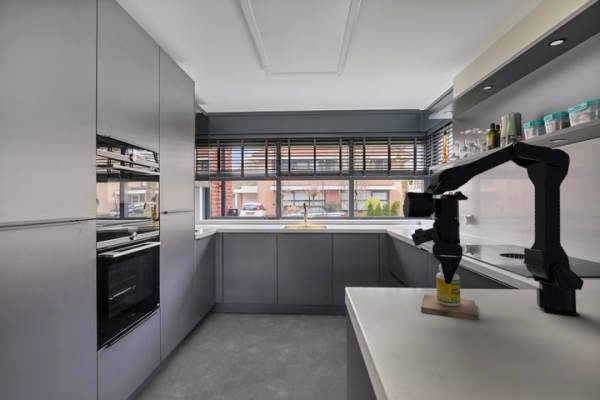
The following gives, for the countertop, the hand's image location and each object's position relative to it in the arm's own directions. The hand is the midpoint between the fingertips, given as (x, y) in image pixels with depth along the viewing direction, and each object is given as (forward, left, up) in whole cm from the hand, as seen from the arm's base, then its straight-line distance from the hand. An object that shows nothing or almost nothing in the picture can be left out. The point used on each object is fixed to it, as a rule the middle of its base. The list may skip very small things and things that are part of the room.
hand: (447, 279), depth 73 cm
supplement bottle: (0, 0, -6) cm, 6 cm away
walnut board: (0, 0, -7) cm, 7 cm away
